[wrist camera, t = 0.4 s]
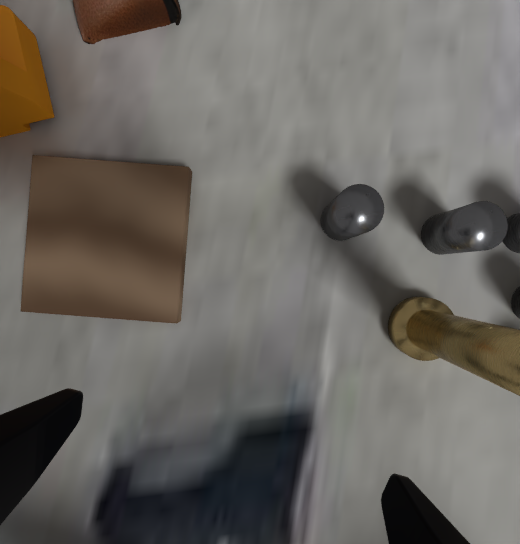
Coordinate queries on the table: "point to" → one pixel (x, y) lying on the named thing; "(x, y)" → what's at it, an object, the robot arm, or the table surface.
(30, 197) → the board
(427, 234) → the dark gray domed cylinder
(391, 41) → the table surface
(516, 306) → the dark grey domed cylinder
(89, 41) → the sunglasses case
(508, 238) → the cylinder
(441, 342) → the brass pin
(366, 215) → the cylinder
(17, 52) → the bracket
